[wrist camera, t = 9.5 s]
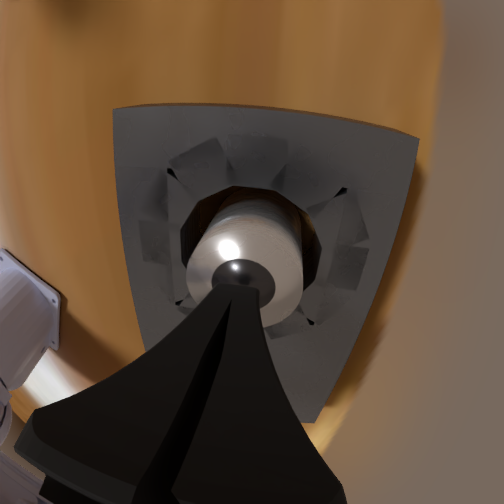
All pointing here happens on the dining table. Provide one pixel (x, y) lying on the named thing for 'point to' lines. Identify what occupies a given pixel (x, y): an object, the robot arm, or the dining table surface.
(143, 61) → the dining table surface
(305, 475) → the robot arm
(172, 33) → the dining table surface
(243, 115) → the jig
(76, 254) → the dining table surface
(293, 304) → the bushing
